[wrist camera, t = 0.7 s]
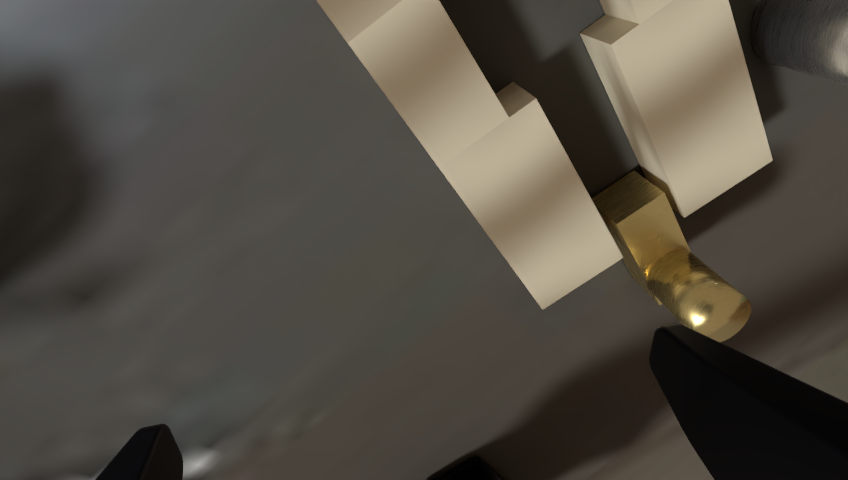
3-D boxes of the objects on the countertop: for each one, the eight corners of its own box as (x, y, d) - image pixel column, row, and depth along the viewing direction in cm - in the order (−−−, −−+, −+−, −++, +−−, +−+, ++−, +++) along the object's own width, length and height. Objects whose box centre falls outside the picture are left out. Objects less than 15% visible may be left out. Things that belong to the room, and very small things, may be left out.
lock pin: (673, 251, 28) (758, 323, 23) (631, 278, 28) (705, 355, 23) (635, 168, 25) (723, 231, 20) (588, 200, 25) (662, 270, 20)
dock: (733, 141, 25) (772, 160, 23) (523, 280, 27) (542, 309, 25) (601, -270, 16) (646, -298, 14) (302, -25, 18) (302, -19, 16)
